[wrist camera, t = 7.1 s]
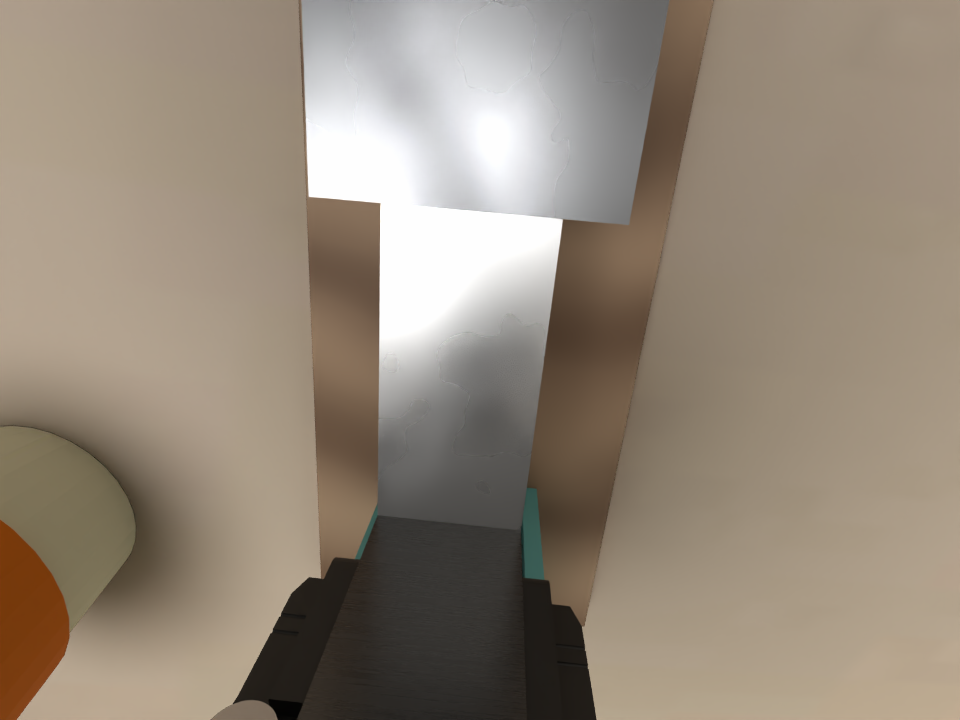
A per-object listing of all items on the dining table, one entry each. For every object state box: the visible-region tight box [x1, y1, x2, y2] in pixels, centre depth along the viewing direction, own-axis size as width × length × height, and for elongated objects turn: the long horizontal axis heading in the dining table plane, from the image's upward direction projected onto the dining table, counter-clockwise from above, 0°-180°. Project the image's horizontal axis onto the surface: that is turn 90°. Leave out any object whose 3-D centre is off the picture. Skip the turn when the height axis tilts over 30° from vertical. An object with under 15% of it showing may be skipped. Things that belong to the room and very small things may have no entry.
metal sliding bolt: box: [297, 203, 563, 720], centre depth 11 cm, size 17×4×10 cm, turn 175°
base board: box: [299, 0, 714, 626], centre depth 18 cm, size 29×12×2 cm, turn 175°
